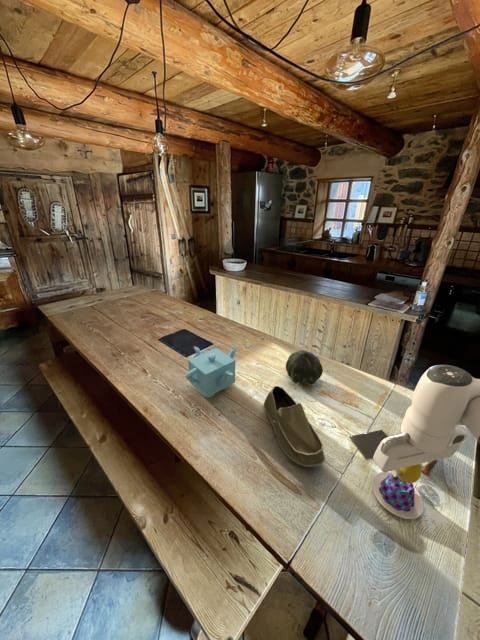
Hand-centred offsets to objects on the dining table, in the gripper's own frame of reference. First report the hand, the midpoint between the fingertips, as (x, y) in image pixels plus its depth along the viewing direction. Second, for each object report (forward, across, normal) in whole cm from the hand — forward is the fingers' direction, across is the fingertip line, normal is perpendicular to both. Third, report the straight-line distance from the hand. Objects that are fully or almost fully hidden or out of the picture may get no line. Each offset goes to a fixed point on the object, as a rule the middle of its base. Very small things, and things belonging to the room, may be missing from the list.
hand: (406, 471), depth 65 cm
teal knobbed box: (+10, -40, +54) cm, 68 cm away
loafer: (+10, -20, +25) cm, 34 cm away
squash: (+10, -3, +50) cm, 51 cm away
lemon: (+3, 0, 0) cm, 3 cm away
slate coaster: (+10, +5, +15) cm, 19 cm away
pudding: (+10, 0, 0) cm, 10 cm away
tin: (+10, +16, +6) cm, 20 cm away
